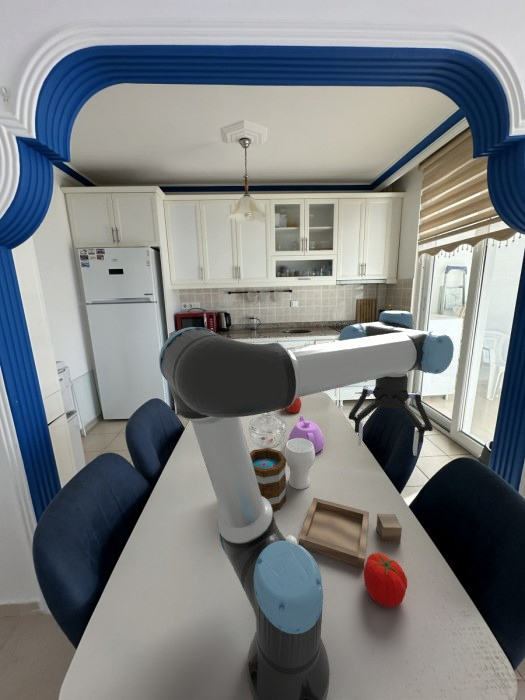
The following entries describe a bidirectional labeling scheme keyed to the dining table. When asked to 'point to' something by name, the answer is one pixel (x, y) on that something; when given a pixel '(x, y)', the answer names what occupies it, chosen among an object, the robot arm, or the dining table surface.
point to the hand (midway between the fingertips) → (386, 448)
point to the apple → (295, 406)
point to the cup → (299, 461)
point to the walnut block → (389, 528)
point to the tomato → (384, 580)
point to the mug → (270, 475)
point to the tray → (336, 532)
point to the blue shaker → (291, 539)
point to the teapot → (308, 433)
